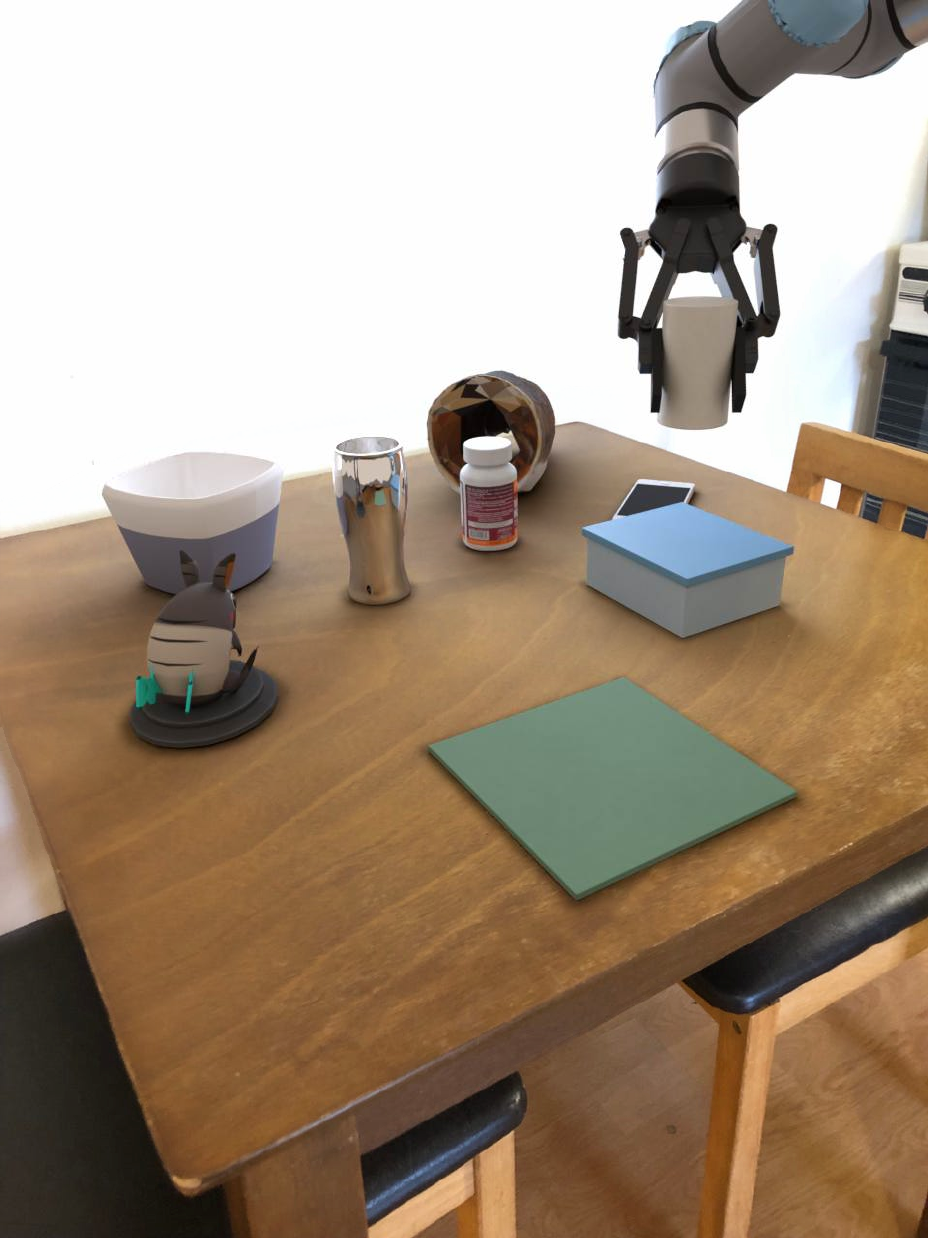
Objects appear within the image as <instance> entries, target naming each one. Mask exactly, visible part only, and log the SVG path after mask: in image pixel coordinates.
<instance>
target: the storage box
mask: <svg viewBox="0 0 928 1238" xmlns="http://www.w3.org/2000/svg"><path fill="white" fill-rule="evenodd" d="M581 535H582V536H583V537H584V538H587V553H586V582H585V583H586V585H587V586H589V587H591V588H593V589H594V590H596V591H598V592H599V593H601V594H603V595H605V596H607V597H608V598H610V599H612V600H614V601H616V602H617V603H618V604H621V605H622V606H624V607H627V609H630V610H631V611H633V612H635V613H637V614H639V615H640V616H642V617H644V618H646V619H647V620H649V621H651V622H652V623H655V624H656V625H658V626H660V627H661V628H663V629H665V630H666V631H669V632H671V633H673V634H674V635H676V636H678V637H679V638H681V639H685V638H688V637H691V636H693V635H697V634H700V633H702V632H705V631H708V630H711V629H715V628H718V627H720V626H723V625H726V624H729V623H732V622H735V621H737V620H742V619H743V618H746V617H749V616H752V615H756V614H759V613H762V612H765V611H767V610H770V609H772V608H773V609H774V608H776V607H779V606H780V605H781V599H782V590H783V585H784V583H783V582H784V577H785V575H784V574H785V567H786V560H787V557H789V556H792V555H794V551H795V550H794V549H795V546H794V545H791V544H789V543H787V542H784V541H781V540H779V539H776V538H774V537H771V536H769V535H766V534H763V533H761V532H759V531H756V530H753V529H751V528H749V527H746V526H744V525H741V524H739V523H736V522H735V521H734V522H733V521H731V520H729V519H726V518H724V517H721V516H719V515H716V514H714V513H712V512H709V511H707V510H705V509H704V510H703V509H701V508H698V507H696V506H693V505H691V504H689V503H688V504H686V503H683V502H680V503H677V504H673V505H669V506H665V507H661V508H657V509H653V510H649V511H645V512H641V513H638V514H634V515H630V516H626V517H622V518H618V519H614V520H612V519H610V520H606V521H603V522H598V523H595V524H591V525H586V526H584V527H581Z"/></svg>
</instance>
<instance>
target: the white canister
mask: <svg viewBox="0 0 928 1238" xmlns="http://www.w3.org/2000/svg"><path fill="white" fill-rule="evenodd" d="M737 310H738V301H737V300H735V299H732V298H725V297H722V296H710V295H709V296H707V295H705V296H701V295H700V296H697V295H696V296H681V297H673V298H672V297H671V298H668V300H665V301H664V303H663V313H662V323H661V325H662V326H661V328H662V398H661V406H660V413H656V416H657V417H656V422H657V423H658V424H659V425H660V426H663V427H666V428H670V429H675V430H685V431H704V430H712V429H713V430H714V429H718V428H721V427H723V426H725V425H727V424H728V420H729V411H730V400H731V399H730V398H731V377H732V366H733V354H734V343H735V332H736V321H737Z"/></svg>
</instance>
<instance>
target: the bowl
mask: <svg viewBox="0 0 928 1238" xmlns="http://www.w3.org/2000/svg"><path fill="white" fill-rule="evenodd" d="M283 477H284V470H283V468H282V466H281V465H280V464H279V463H278V462H277V461H275V460H273V459H272V460H271V459H269V458H265V457H260V456H256V455H250V454H244V453H237V452H236V453H235V452H225V451H208V450H187V451H182V452H179V453H174V454H169V455H167V456H163V457H160V458H157V459H154V460H151V461H148V462H147V463H146V462H145V463H143V464H140V465H138V466H135V467H132V468H130V469H128V470H126V471H124V472H122V473H119V474H117V475H116V476H114V477H112V478H111V479H109V480H108V481H107V482H105V484H104V485H103V488H102V490H101V496H102V498H103V500H104V502H105V504H106V506H107V509H108V510H109V512H110V514H111V517H112V519H113V521H114V523H115V524H116V526H117V528H118V530H119V532H120V534H121V535H122V538H123V540H124V542H125V544H126V546H127V548H128V550H129V552H130V554H131V556H132V558H133V560H134V562H135V565H136V566H137V568H138V571H139V573H140V574H141V577H142V579H143V581H144V583H145V584H146V585H148V586H149V587H152V588H154V589H157V590H159V591H163V592H165V593H169V594H173V595H177V594H178V593H180V592H181V591H183V590H184V589H186V588H187V587H186V585H185V582H184V579H183V575H182V572H181V566H180V554H179V551H180V550H184V551H185V552H186V553H187V554H188V555H189V556H190V557H192V558H193V559H194V560H195V561H196V563H197V564H198V567H199V574H200V582H201V583H206V582H210V583H213V575H214V570H215V568H216V566H217V564H218V563H219V562H220V561H221V560H223V559H224V558H225V557H227V556H228V555H230V554H232V553H235V554H236V557H235V562H234V568H233V572H232V576H231V579H230V583H229V586H228V590H229V591H230V592H231V593H233V592H234V591H237V590H239V589H241V588H243V587H245V586H247V585H248V584H250V583H252V582H254V581H256V580H257V579H258V578H260V577H261V576H262V575H263V574H264V573H265V572H266V571H267V570H269V569H270V567H271V566H272V564H273V559H274V558H273V557H274V551H275V550H274V549H275V543H276V542H275V541H276V534H277V525H278V517H279V507H280V501H281V494H282V485H283Z"/></svg>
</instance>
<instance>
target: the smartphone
mask: <svg viewBox="0 0 928 1238" xmlns="http://www.w3.org/2000/svg"><path fill="white" fill-rule="evenodd" d="M695 487H696V485H695V483H694V482H682V481H669V480H657V479H646V478H645V479H643V478H639V479H637V480H636V482H635V483H634V485H633V486H632V488H631V490H630V491H629V492H628V494H627V495H626V497H625V498H624V500H623V501H622V503H621V505H620V506H619V507H618V509H617V510H616V512H615V513H614V515H613V516H612V518H611V520H614V519H618V518H622V517H626V516H630V515H634V514H638V513H641V512H645V511H649V510H653V509H657V508H661V507H665V506H669V505H673V504H677V503H680V502H683V503H686V504H688V505H689V502H690V500H691V499H692V497H693V494H694V493H695Z"/></svg>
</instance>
